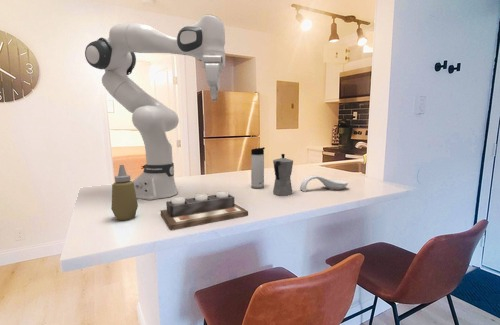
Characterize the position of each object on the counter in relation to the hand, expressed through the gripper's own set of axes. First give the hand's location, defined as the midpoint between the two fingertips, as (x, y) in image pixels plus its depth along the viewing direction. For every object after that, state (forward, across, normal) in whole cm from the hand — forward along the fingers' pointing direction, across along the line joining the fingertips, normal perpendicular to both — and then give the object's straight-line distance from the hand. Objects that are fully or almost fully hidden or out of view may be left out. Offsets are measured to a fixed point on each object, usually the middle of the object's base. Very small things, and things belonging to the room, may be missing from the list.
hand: (214, 100), depth 102 cm
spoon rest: (+40, -17, +51) cm, 67 cm away
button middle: (+37, +13, -4) cm, 39 cm away
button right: (+37, +10, +3) cm, 38 cm away
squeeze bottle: (+41, +16, -29) cm, 53 cm away
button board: (+40, +16, -3) cm, 43 cm away
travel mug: (+40, -23, +20) cm, 51 cm away
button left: (+37, +17, -12) cm, 42 cm away
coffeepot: (+40, -10, +29) cm, 51 cm away
